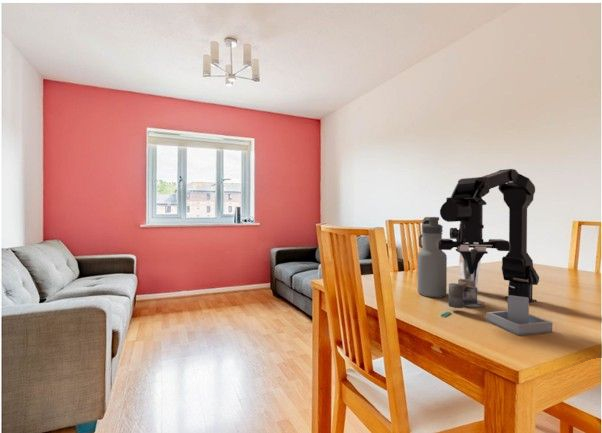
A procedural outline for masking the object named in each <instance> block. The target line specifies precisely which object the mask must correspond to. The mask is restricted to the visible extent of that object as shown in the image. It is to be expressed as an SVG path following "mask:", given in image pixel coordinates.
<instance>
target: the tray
mask: <svg viewBox="0 0 602 433" xmlns="http://www.w3.org/2000/svg"><path fill="white" fill-rule="evenodd" d="M507 319H508V309H506V310H499V311H497V310H496V311H489V312H486V322H487V323H489V324H491V325H494V326H496V327H498V328H501V329H502V330H504V331H507V332H509V333H512V334H513V335H516V336H518V337H520V336H529V335H531V336H532V335H539V334H546V333H547V334H548V333H553V322H552V321H549V320H548V319H544V318H541V317H539V316H536V315H533V314H531V313H529V323H527V324H517V323H514V322H512V321H509V320H507Z"/></svg>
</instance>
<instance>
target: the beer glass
mask: <svg viewBox="0 0 602 433" xmlns="http://www.w3.org/2000/svg"><path fill="white" fill-rule="evenodd" d="M469 251H471V249H469ZM471 256H472V255H471ZM458 262H459V271H460V276H461V279H469V280H474V281H476V287H477V294H478V293H479V292H480V289H479V283H478V282H479V276H480V271H481V260H480V261H479V263H478V265H477V267H476V269H475V271H474V273H473V274H469V272H468V269H467V266H466V263H465V261H464V258H463V257H462V255H461V253H459V261H458Z"/></svg>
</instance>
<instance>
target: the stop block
mask: <svg viewBox="0 0 602 433" xmlns="http://www.w3.org/2000/svg"><path fill="white" fill-rule="evenodd" d="M507 296H508V299H507V310H508V319H507V320H509V321H512V322H514V323H517V324H527V323H529V314H530V313H529V312H530V308H529V307H530V302H529V298H528V297H520V296H512V295H508V294H507Z"/></svg>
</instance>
